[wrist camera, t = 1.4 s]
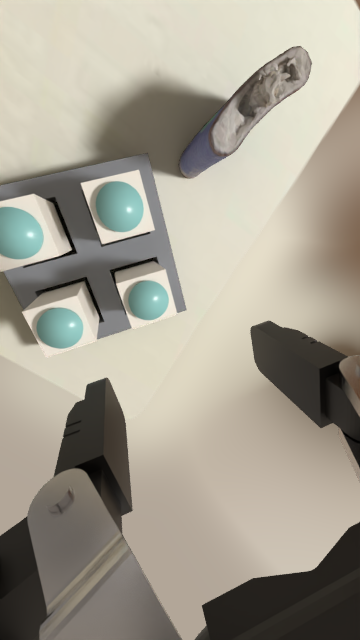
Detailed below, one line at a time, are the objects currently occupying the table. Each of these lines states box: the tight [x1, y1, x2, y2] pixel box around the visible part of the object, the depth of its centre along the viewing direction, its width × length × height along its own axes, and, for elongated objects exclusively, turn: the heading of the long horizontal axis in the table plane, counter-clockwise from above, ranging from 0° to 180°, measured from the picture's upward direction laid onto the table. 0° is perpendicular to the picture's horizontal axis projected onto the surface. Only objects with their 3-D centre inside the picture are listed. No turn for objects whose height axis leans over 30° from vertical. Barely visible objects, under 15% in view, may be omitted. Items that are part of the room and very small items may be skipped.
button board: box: [0, 153, 186, 339], centre depth 25 cm, size 15×15×3 cm
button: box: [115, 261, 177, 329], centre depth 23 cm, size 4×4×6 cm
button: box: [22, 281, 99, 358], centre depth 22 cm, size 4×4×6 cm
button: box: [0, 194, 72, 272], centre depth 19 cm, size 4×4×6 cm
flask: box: [179, 46, 312, 178], centre depth 20 cm, size 9×3×11 cm, turn 131°
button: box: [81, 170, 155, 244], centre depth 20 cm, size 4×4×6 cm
